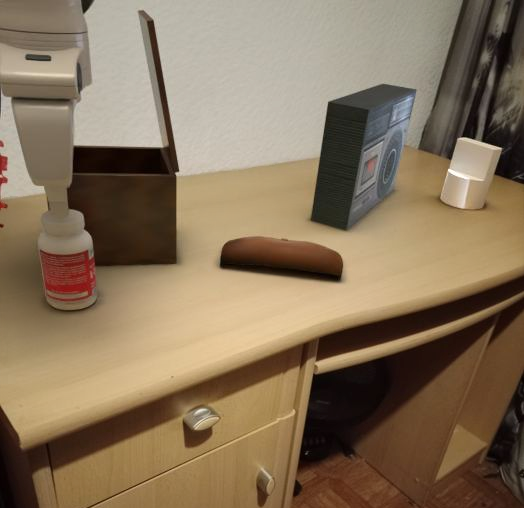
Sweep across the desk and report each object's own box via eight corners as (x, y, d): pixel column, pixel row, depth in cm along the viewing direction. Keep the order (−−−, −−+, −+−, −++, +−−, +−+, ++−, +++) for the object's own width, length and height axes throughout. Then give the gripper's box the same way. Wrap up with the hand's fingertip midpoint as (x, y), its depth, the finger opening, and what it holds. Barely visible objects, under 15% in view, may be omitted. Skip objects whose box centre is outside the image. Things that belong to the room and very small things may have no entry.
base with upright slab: (431, 197, 115) (447, 139, 109) (456, 192, 120) (473, 136, 114) (467, 212, 110) (486, 151, 103) (491, 205, 115) (511, 147, 108)
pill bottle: (103, 307, 68) (96, 222, 61) (52, 316, 65) (39, 228, 59) (90, 284, 72) (82, 203, 66) (42, 292, 69) (28, 208, 63)
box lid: (146, 20, 61) (153, 19, 61) (137, 10, 72) (143, 9, 72) (173, 173, 72) (179, 172, 72) (162, 144, 82) (167, 143, 82)
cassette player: (346, 230, 96) (369, 109, 84) (310, 220, 98) (328, 101, 87) (393, 189, 118) (416, 89, 106) (363, 182, 120) (382, 83, 109)
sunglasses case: (339, 254, 86) (346, 228, 80) (336, 292, 83) (344, 268, 77) (226, 242, 86) (225, 215, 80) (220, 279, 83) (218, 254, 77)
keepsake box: (56, 267, 75) (43, 174, 68) (59, 228, 86) (49, 144, 78) (176, 263, 79) (176, 176, 72) (165, 226, 90) (165, 147, 83)
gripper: (19, 46, 60) (38, 171, 68) (-5, 78, 44) (23, 236, 52) (78, 50, 62) (90, 171, 70) (76, 82, 46) (92, 235, 54)
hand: (62, 200), depth 61 cm, fingers open, 8 cm apart
